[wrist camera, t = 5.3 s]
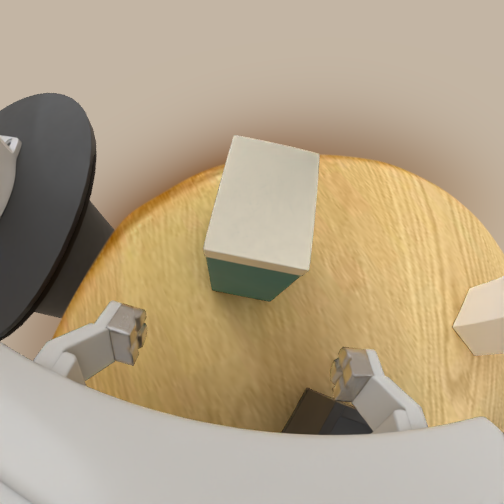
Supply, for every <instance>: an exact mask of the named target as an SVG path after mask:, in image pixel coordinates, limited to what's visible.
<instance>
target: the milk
mask: <svg viewBox="0 0 504 504" xmlns="http://www.w3.org/2000/svg"><path fill="white" fill-rule="evenodd" d="M453 328H454V330H455V331H456V332H457V334H458V335H459V336H460V337H461V339H462V340H463V341H464V343H465V344H466V345H467V346H468V348H469V349H470V350H471V352H472V353H473V354H474V356H478V355H491V354H502V353H504V276H503V277H501V278H498V279H495V280H492V281H489V282H487V283H484V284H481V285H478V286H475V287H472V288H470V289H469V291H468V293H467V295H466V298H465V300H464V303H463V305H462V307H461V310H460V312H459V314H458V316H457V318H456V320H455V323H454V325H453Z"/></svg>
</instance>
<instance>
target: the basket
mask: <svg viewBox="0 0 504 504" xmlns="http://www.w3.org/2000/svg"><path fill="white" fill-rule="evenodd" d="M372 432H373V430H372V429H371V428H370V426H369V425H368V424H367V422H366V421H365V420H364V418H363V417H362V416H361V414H360V413H359V412H358V411H357V409H356V408H355V407H353V406H351V405H348V404H346V403H343V402H341V401H334V399H333V398H331V397H328V396H326V395H324V394H321V393H319V392H317V391H314V390H312V389H310V388H306V390H305V392H304V394H303V396H302V398H301V399H300V401H299V403H298V405H297V407H296V408H295V410H294V412H293V414H292V415H291V417H290V419H289V421H288V422H287V424H286V426H285V427H284V429H283V431H282V432H281V433H289V434H308V435H358V434H371V433H372Z"/></svg>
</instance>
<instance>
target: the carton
mask: <svg viewBox="0 0 504 504" xmlns="http://www.w3.org/2000/svg"><path fill="white" fill-rule="evenodd" d="M319 157H320V155H319V154H318V153H314V152H310V151H306V150H302V149H298V148H294V147H289V146H285V145H281V144H276V143H272V142H267V141H262V140H257V139H252V138H247V137H242V136H237V135H235V136H234V137H233V140H232V143H231V147H230V150H229V153H228V157H227V161H226V164H225V167H224V171H223V174H222V178H221V182H220V185H219V189H218V193H217V196H216V200H215V204H214V208H213V211H212V215H211V219H210V223H209V227H208V231H207V235H206V239H205V243H204V247H203V250H204V255H205V257H206V260H207V265H208V271H209V276H210V281H211V287H212V290H213V291H218V292H223V293H228V294H233V295H238V296H243V297H248V298H254V299H259V300H264V301H271V300H273V299H274V298H275V297H276V296H277V295H279V294H280V293H281V292H282V291H283V290H285V289H286V288H287V287H288V286H289V285H290V284H292V283H293V282H294V281H295V280H296V279H297V278H299V277H300V276H303V275H304V274H305V273H307V272H308V271H309V268H310V259H311V250H312V241H313V232H314V221H315V211H316V199H317V186H318V173H319Z"/></svg>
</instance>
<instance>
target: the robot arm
mask: <svg viewBox="0 0 504 504" xmlns="http://www.w3.org/2000/svg"><path fill="white" fill-rule="evenodd" d="M21 145H22V142H21V141H20V140H19V139H18V138H15V137H9V136H2V135H0V217H1V215H2V213H3V212H4V209H5V207H6V205H7V203H8V200H9V198H10V195H11V192H12V189H13V185H14V181H15V174H16V159H17V157H18V154H19V151H20V149H21ZM145 319H146V311H145V310H143V309H140V308H137V307H133V306H130V305H127V304H122V303H119V302H116V301H111V302H109V304H108V305H107V307H106V308H105V309H104V311H103V312H102V313H101V315H100V316H99V318H98V319H97V320H96V322H95V323H94V324H92V323H90V324H88V325H85V326H83V327H81V328H78V329H76V330H73V331H71V332H69V333H66V334H64V335H62V336H59V337H57V338H54V339H52V340H50V341H48V342H46V344H45V345H44V346H43V348H42V349H41V350H40V352H39V353H38V354H37V356H36V357H35V358H34V360H33V361H32V360H30V359H28V358H27V357H25V356H23V355H21V354H20V353H18V352H16V351H14V350H13V349H11V348H9V347H8V346H6V345H5V344H3V343H1V342H0V504H504V435H503V433H502V432H501V431H500V430H499V428H498V427H496V426H495V425H494V424H493V423H492V422H491V421H489V420H488V419H487V418H485V417H482V416H480V417H475V418H471V419H467V420H463V421H459V422H454V423H450V424H445V425H439V426H434V427H428V425H427V422H426V419H425V417H424V414H423V411H422V408H421V407H420V406H419V405H418V404H417V403H416V402H415V401H414V400H413V399H412V398H411V397H409V396H408V395H407V394H406V393H405V392H404V391H403V390H402V389H401V388H400V387H398V386H397V385H396V384H395V383H394V382H393V381H392V380H391V379H390V378H389V377H385V375H384V372H383V369H382V367H381V364H380V361H379V358H378V356H377V353H376V351H375V350H374V349H359V348H349V347H343V348H341V349H340V351H339V353H338V354H339V358H337V359H336V360H334V362H333V364H332V366H331V370H330V379H331V381H332V383H333V384H334V387H333V388H332V390H333V396H334V401H343V402H352V404H353V405H354V407H355V408H356V409H357V411H358V412H359V413H360V414H361V416H362V417H363V418H364V420H365V421H366V422H367V424H368V425H369V426H370V428H371V429H372V430H373V432H372V433H371V434H358V435H308V434H289V433H276V432H266V431H257V430H249V429H242V428H235V427H229V426H223V425H217V424H212V423H207V422H202V421H197V420H192V419H188V418H184V417H179V416H175V415H171V414H168V413H164V412H160V411H157V410H153V409H150V408H146V407H143V406H140V405H136V404H133V403H130V402H127V401H124V400H121V399H118V398H116V397H113V396H110V395H107V394H105V393H102V392H99V391H97V390H94V389H92V388H89V387H87V386H86V383H85V381H86V380H88V379H89V378H91V377H92V376H94V375H95V374H97V373H98V372H100V371H101V370H103V369H104V368H106V367H107V366H109V365H110V364H112V363H113V362H115V361H118V362H122V363H125V364H128V365H132V366H134V364H135V362H136V359H137V357H138V355H139V351H138V349H139V348H141V347H143V345H144V342H145V339H146V335H147V325H146V324H145V323H144V321H145Z"/></svg>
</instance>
